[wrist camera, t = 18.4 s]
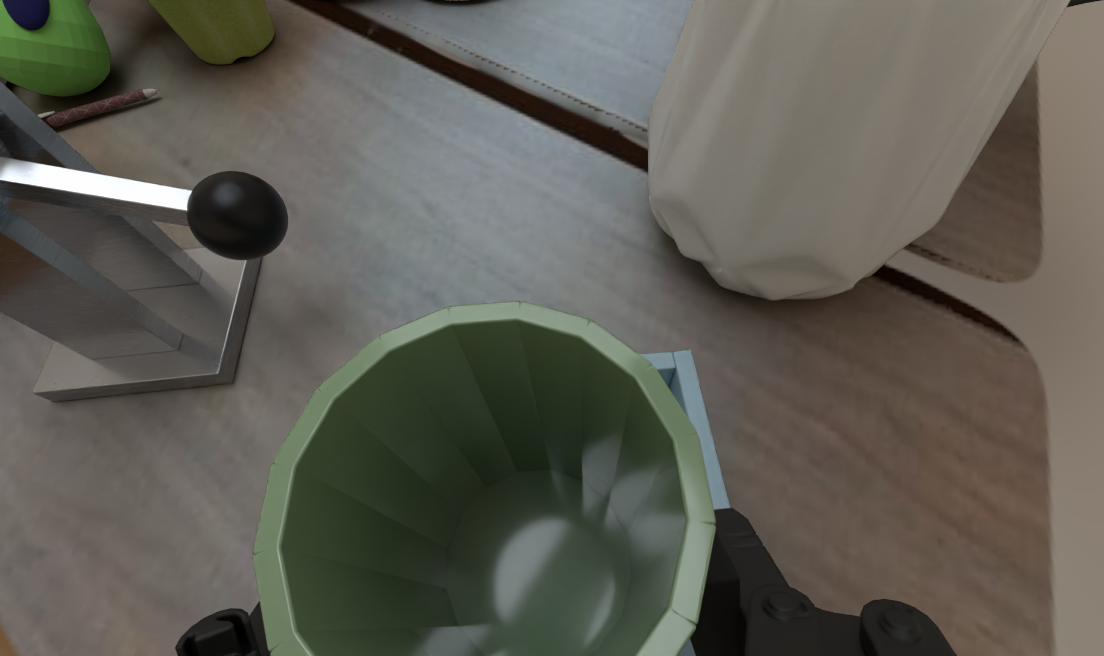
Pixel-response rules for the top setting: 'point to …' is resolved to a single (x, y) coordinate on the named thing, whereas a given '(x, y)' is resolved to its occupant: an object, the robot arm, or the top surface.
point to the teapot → (3, 80)
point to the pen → (95, 107)
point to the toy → (52, 46)
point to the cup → (487, 498)
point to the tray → (688, 393)
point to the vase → (827, 129)
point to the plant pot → (219, 27)
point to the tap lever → (161, 203)
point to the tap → (113, 287)
